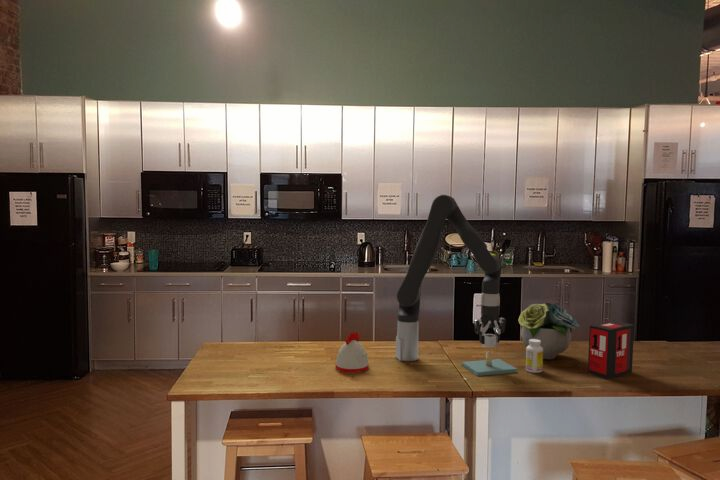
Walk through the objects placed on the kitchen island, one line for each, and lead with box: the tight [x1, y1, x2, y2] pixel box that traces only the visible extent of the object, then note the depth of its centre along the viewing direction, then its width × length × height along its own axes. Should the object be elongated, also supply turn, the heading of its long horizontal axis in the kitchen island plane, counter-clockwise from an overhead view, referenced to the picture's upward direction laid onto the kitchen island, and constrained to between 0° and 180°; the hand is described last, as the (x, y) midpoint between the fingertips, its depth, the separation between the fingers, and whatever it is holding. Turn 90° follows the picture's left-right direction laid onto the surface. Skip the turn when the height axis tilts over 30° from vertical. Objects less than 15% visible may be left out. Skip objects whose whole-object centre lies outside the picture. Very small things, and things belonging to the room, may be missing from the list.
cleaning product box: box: [587, 320, 635, 380], centre depth 220 cm, size 16×9×20 cm, turn 122°
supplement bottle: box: [525, 339, 544, 374], centre depth 222 cm, size 7×7×13 cm
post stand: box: [461, 350, 518, 377], centre depth 224 cm, size 18×14×8 cm
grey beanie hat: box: [335, 331, 370, 373], centre depth 225 cm, size 14×14×15 cm
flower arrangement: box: [518, 302, 580, 360], centre depth 241 cm, size 25×25×24 cm
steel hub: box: [481, 333, 499, 348], centre depth 224 cm, size 6×6×4 cm
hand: (489, 343), depth 224 cm, fingers closed on steel hub, 6 cm apart
